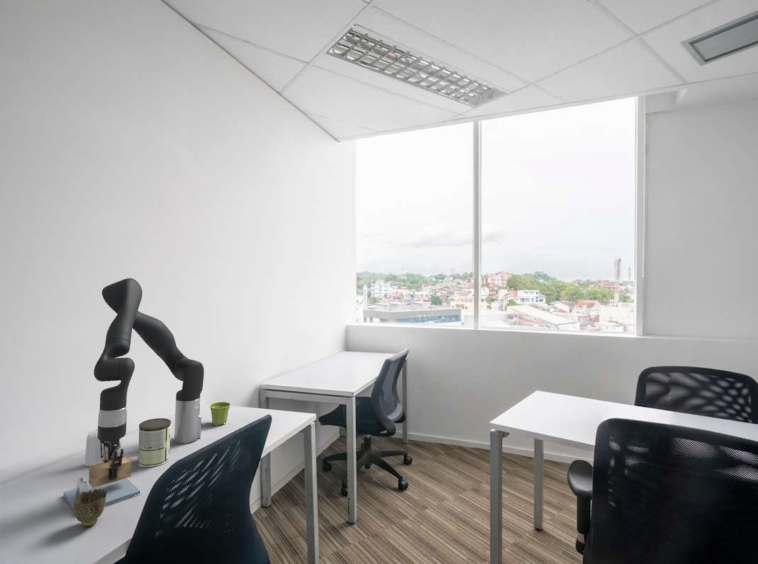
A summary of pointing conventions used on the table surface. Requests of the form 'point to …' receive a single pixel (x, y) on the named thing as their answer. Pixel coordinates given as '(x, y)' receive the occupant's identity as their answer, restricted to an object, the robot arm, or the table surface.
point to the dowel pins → (80, 486)
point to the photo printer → (93, 449)
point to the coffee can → (154, 442)
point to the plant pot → (219, 412)
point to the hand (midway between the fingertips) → (110, 476)
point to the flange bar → (101, 473)
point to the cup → (89, 506)
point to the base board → (108, 492)
